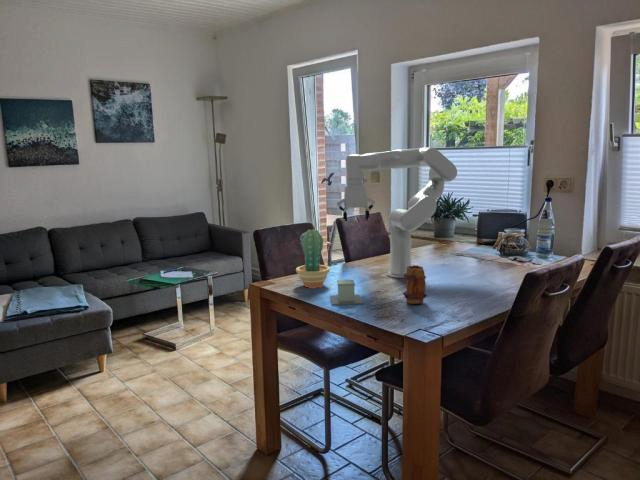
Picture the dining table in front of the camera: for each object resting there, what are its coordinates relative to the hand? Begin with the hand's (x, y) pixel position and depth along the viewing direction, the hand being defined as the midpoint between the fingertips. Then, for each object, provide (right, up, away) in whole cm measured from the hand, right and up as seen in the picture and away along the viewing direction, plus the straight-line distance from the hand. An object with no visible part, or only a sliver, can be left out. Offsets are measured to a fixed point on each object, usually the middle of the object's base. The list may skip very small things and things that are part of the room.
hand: (356, 220), depth 228 cm
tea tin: (-6, -32, -29) cm, 44 cm away
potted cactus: (-19, -30, -5) cm, 36 cm away
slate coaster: (-6, -33, -29) cm, 45 cm away
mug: (+20, -34, -37) cm, 54 cm away
